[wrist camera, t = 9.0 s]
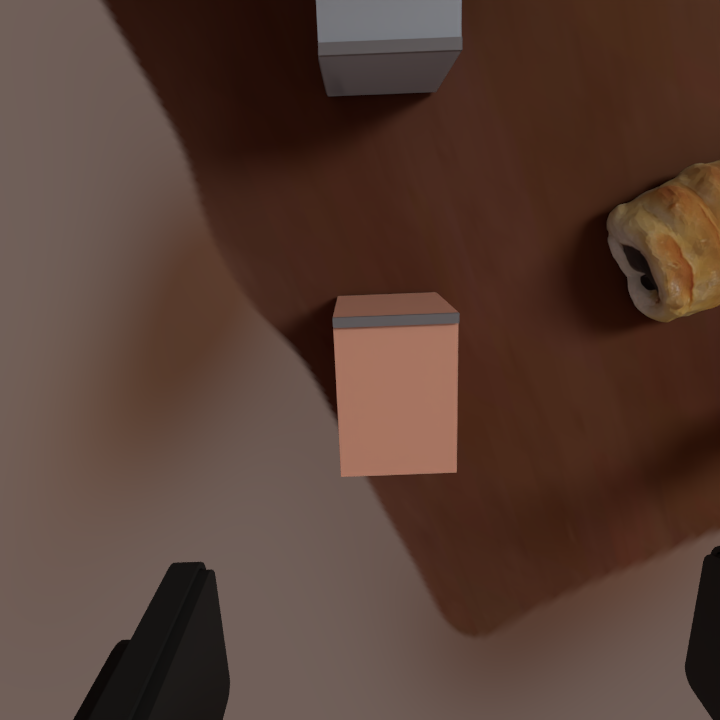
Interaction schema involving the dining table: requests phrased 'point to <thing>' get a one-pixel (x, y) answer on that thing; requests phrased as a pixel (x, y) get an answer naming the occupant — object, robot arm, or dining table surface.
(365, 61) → the block
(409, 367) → the stub
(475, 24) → the dining table surface
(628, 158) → the dining table surface
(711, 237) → the pastry
